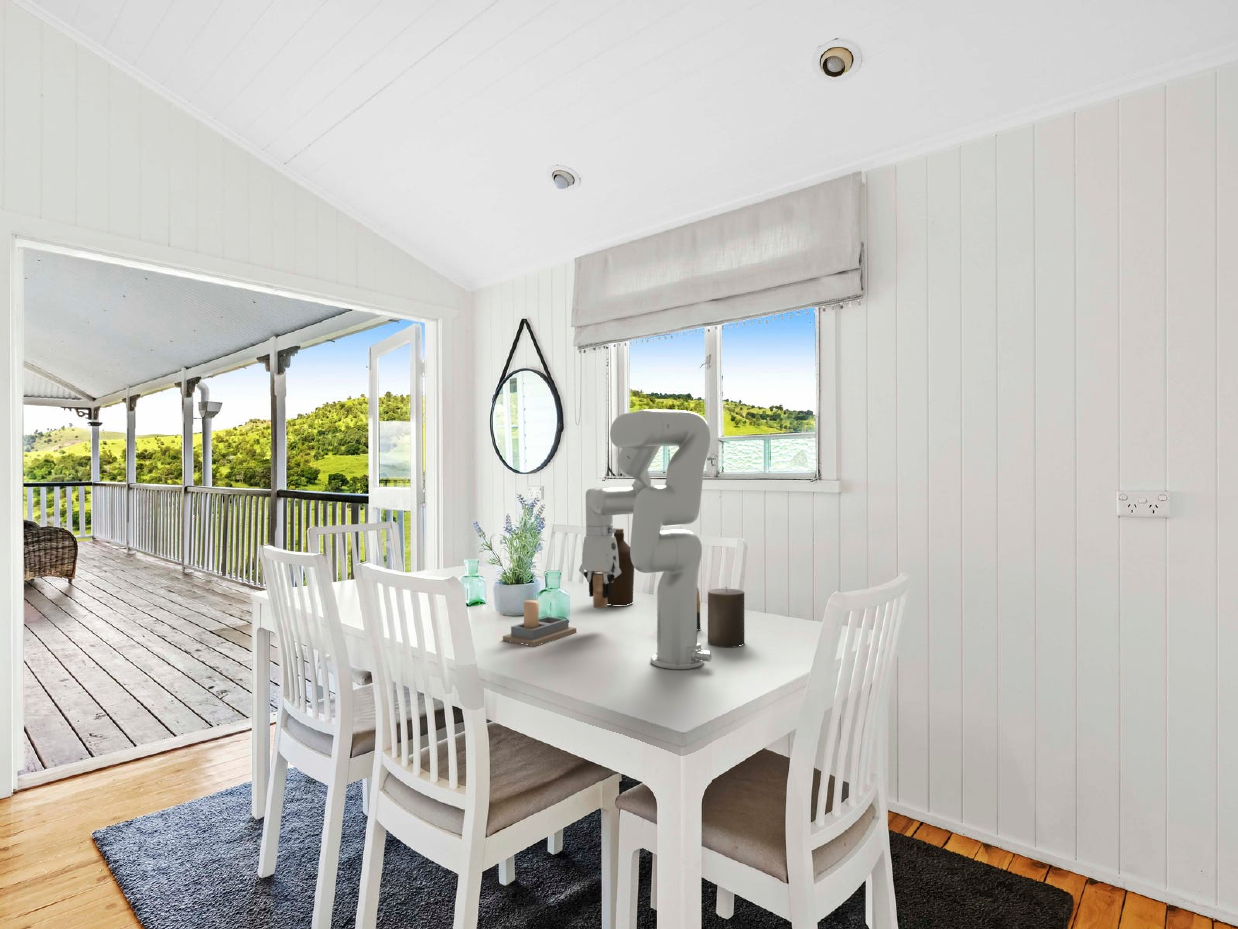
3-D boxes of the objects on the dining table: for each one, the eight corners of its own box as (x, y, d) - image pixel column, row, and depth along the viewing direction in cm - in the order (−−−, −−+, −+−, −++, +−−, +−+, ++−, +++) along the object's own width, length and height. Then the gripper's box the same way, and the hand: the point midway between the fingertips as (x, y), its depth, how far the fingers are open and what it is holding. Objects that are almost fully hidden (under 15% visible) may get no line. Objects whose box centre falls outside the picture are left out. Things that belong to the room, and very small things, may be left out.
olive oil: (633, 607, 232) (633, 530, 232) (601, 607, 233) (601, 530, 233) (635, 601, 243) (635, 527, 243) (604, 600, 244) (604, 527, 244)
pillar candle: (743, 648, 182) (744, 590, 182) (705, 646, 184) (706, 588, 184) (744, 639, 192) (745, 584, 192) (708, 637, 194) (709, 582, 194)
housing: (576, 632, 199) (576, 596, 199) (534, 646, 184) (534, 607, 184) (545, 627, 205) (545, 591, 205) (502, 640, 190) (502, 602, 190)
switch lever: (610, 605, 202) (609, 573, 202) (602, 608, 199) (601, 575, 199) (598, 604, 204) (598, 572, 204) (590, 606, 201) (590, 574, 201)
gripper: (631, 531, 200) (632, 597, 200) (583, 530, 210) (584, 592, 209) (616, 533, 194) (617, 601, 194) (567, 531, 203) (568, 596, 203)
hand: (600, 596), depth 202 cm, fingers closed on switch lever, 4 cm apart
